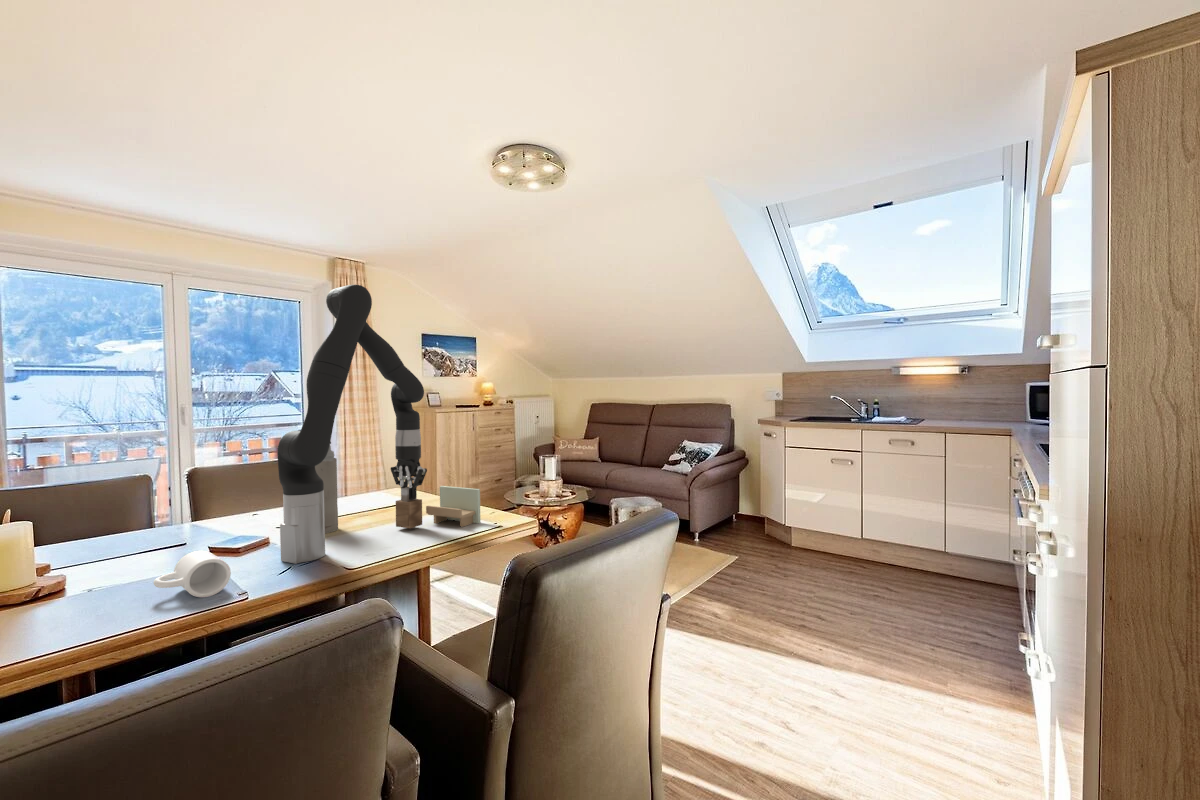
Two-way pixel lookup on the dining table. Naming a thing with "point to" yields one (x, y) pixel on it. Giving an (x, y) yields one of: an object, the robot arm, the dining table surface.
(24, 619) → the dining table surface
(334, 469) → the thermos bottle
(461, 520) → the small display stand
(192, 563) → the mug
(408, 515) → the brown box
